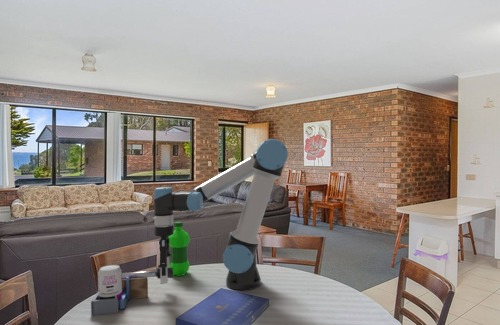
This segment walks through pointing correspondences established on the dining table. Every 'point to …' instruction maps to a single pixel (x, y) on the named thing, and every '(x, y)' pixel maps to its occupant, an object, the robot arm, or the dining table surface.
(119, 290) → the supplement can
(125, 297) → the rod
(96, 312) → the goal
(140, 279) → the brown wooden board
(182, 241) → the plastic bottle
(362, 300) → the dining table surface
